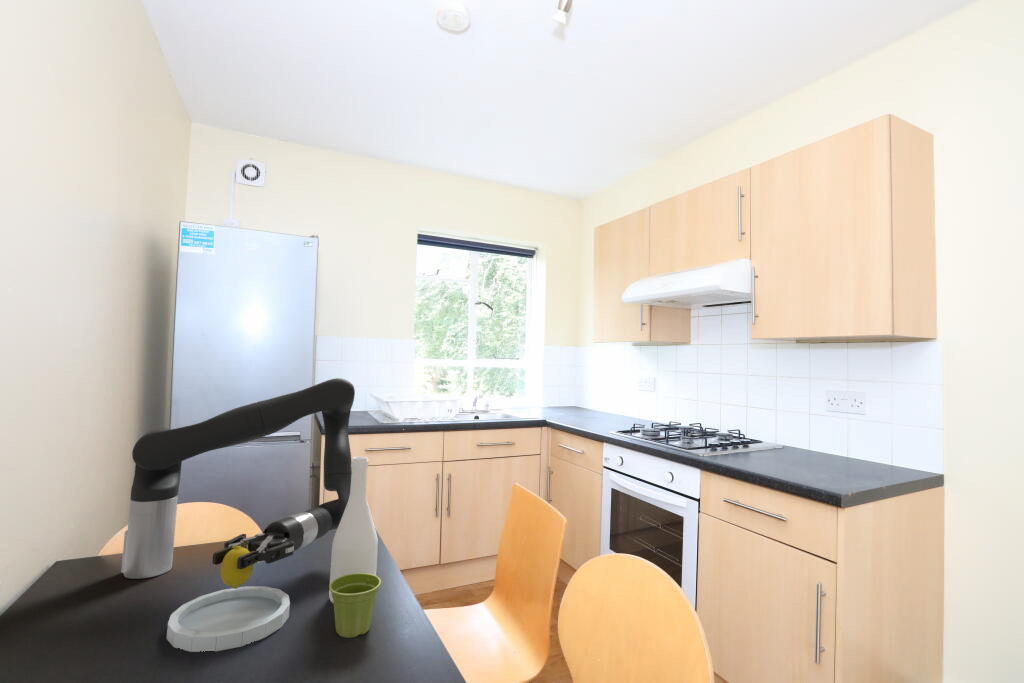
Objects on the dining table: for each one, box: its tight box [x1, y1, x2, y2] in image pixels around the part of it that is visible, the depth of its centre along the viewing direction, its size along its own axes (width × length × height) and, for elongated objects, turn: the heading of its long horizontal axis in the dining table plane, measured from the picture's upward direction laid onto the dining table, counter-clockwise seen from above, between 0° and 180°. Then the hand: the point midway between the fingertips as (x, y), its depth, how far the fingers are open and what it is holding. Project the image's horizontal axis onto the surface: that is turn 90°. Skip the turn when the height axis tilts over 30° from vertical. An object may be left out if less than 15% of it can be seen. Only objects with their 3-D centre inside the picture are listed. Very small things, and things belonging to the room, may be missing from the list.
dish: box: [166, 585, 291, 653], centre depth 93 cm, size 20×20×2 cm
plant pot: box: [328, 573, 382, 639], centre depth 93 cm, size 9×9×9 cm
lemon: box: [219, 546, 254, 589], centre depth 94 cm, size 6×6×8 cm
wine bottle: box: [328, 456, 379, 605], centre depth 106 cm, size 10×10×30 cm
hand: (226, 561), depth 92 cm, fingers closed on lemon, 5 cm apart
